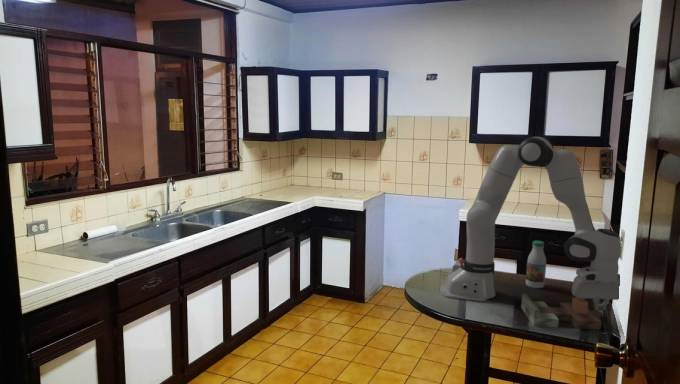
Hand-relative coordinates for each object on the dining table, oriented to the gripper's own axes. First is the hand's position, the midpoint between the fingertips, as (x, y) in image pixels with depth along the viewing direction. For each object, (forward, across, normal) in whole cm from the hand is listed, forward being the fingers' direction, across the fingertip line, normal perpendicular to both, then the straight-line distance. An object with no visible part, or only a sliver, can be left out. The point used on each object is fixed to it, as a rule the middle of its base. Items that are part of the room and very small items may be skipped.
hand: (599, 309), depth 178 cm
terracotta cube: (+1, +7, 0) cm, 7 cm away
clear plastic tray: (+4, +14, 0) cm, 15 cm away
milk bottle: (+4, +13, -34) cm, 37 cm away
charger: (+5, +40, -50) cm, 64 cm away
